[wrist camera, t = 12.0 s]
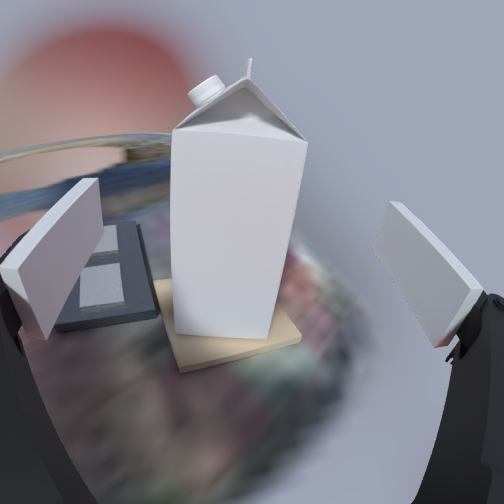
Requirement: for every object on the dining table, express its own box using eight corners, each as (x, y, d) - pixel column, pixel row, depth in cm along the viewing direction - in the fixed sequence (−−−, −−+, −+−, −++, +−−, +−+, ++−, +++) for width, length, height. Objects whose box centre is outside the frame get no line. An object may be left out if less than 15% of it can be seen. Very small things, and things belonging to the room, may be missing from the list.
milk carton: (261, 284, 29) (295, 70, 19) (267, 341, 23) (322, 69, 13) (185, 278, 28) (195, 60, 18) (174, 335, 22) (176, 53, 12)
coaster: (154, 287, 28) (153, 280, 27) (250, 271, 32) (251, 265, 31) (180, 373, 20) (179, 367, 20) (299, 341, 24) (302, 335, 24)
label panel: (68, 236, 33) (66, 226, 32) (135, 227, 36) (135, 217, 36) (57, 332, 21) (52, 320, 20) (156, 317, 25) (155, 305, 24)
